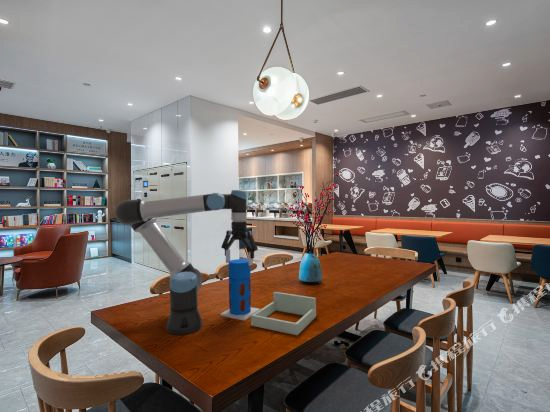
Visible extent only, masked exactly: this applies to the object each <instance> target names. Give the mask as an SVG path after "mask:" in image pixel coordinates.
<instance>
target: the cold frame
mask: <svg viewBox="0 0 550 412" xmlns="http://www.w3.org/2000/svg"><path fill="white" fill-rule="evenodd" d="M272 294H273V295H272V296H273V301H272V302H270V303H269V304H267V305H265V306H264V307H262V308H260V310H259V311H258V312H256V313H254V314H253V315H251V317H250V320H251V326H252V327H255V328H256V327H257V328H262V329H265V330H266V329H267V330H272V331H275V332H280V333H284V334H290V335H294V336H298V335H299V334H300V333H301V332H302V331H303V330H305V329H306V328H307V326H308V325H309V324H310V323H311V322H313V320H314V319H315V318H316V317H317V298H316V297H312V296H307V295H306V296H305V295H300V294H299V295H298V294H293V293H292V294H291V293H284V292H277V291H274V292H273V293H272ZM275 311H277V312H282V313H287V314H295V315H299V316H302V317H300V319H298V321H296V322H293V321H287V320H282V319H277V318H273V317H268V316H270V315H271V314H273V313H274V312H275Z"/></svg>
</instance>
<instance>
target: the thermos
mask: <svg viewBox="0 0 550 412" xmlns="http://www.w3.org/2000/svg"><path fill="white" fill-rule="evenodd" d="M251 266H252V265H250V266H249V259H247V258H246V259H244V258H240V259H239V258H238V259H237V258H236V259H230V261H229V263H228V307H229V308H228V309H230V313H231V314H234V315H244V314H248V313H249V312H250V311H251V307H252V287H251V286H252V285H251V284H252V283H251V281H252V277H251V276H252V275H251V274H252V273H251Z"/></svg>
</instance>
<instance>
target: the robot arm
mask: <svg viewBox="0 0 550 412" xmlns="http://www.w3.org/2000/svg"><path fill="white" fill-rule="evenodd" d="M247 207H248V206H247V192H246V190H244V189H235V190H234V189H232V190H231V192H230V193H227V194H226V193H219V192H212V193H209V194H200V195H190V196H181V197H174V198H165V199H157V200H149V201H148V200H147V201H146V200H145V199H137V198H136V199H124V200H122V201H120V202H119V203H118V204H117V206H116V207H115V209H114V215H115V218H116V220H117V221H118V222H119V223H120V224H122V225H124V226H129V227H130V228H131V229H132V230H133V231H134V233H138V234H140V235H141V237H143V239H144V241H145V242H147V244H148V245H149V247H150V248H151V249H152V250H153V252H154V253H155V254H156V257H158V259H159V260H160V261H161V263H162V264H163V265H164V267H165V268H166V270H167V271H168V272H169V302H170V303H169V304H170V309H169V310H170V311H169V315H168V319H167V322H166V324H165V325H166V332H167V333H169V334H172V335H178V336H179V335H188V334H191V333H195V332H197V331H198V330H200V329H201V328H202V326H203V320H202V318H201V314H200V311H199V307H198V302H199V301H198V293H199V290H200V289H201V287H202V285H203V274H202V273H201V271H200V270H199V269H197V268H195V267H194V266H193V264H192V263H191V262H189V261H188V262H187V261H186V260H185V259H184V258H183V257H182V255H181V254H180V253H179V251H178V249H177V248H176V247H175V246H174V245H173V243H172V242H171V241H170V239H169V237H167V235H166V234H165V233H164V231H163V230H162V228H161V227H160V225H159V224H158V223H157V219H158V218H164V217H171V216H179V215H186V214H194V213H202V212H204V213H205V212H210V211H211V212H213V211H220V210H231V211H230V212H231V215H230V216H231V217H230V218H231V219H230V221H231V222H230V223H231V224H230V226H231V228H230V229H228V230H226V233H225V234H226V235H225V237H224V240H223V241H222V244H221V246H220V247H221V249H223V250H224V256H225V264H229V261H231V249H230V248H231V246H232V245H233V244H234V242H235V241H242V242H243V244H244V245H245V246H246V248H247V249H248V260H249V266H250V265H251V266H253V265H254V259H255V252H256V251H258V250H259V249H258V246H257V244H256V241H255V238H254V236H253V231H252V230H250V231H247V228H248V227H247V225H248V224H247V223H248V222H247V215H248V214H247V209H248V208H247Z"/></svg>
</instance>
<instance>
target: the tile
mask: <svg viewBox="0 0 550 412" xmlns="http://www.w3.org/2000/svg"><path fill="white" fill-rule="evenodd" d="M259 310H261V308H258V307H252V306H251V311H250V312H249V313H248V314H244V315H234V314H231V313H230V309H229V308H228V309H227V310H225V311H223V312H221V313H220V316H221V317H225V318H231V319H233V320H240V321H246V320H249V318H250V319H251V315H253V314H254V313H256V312H258V311H259Z"/></svg>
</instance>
